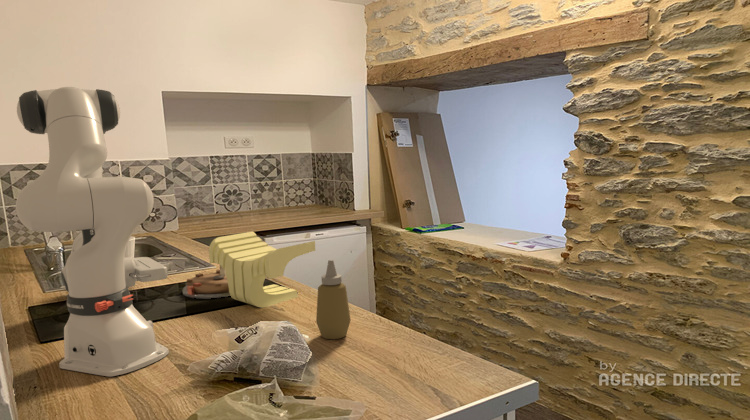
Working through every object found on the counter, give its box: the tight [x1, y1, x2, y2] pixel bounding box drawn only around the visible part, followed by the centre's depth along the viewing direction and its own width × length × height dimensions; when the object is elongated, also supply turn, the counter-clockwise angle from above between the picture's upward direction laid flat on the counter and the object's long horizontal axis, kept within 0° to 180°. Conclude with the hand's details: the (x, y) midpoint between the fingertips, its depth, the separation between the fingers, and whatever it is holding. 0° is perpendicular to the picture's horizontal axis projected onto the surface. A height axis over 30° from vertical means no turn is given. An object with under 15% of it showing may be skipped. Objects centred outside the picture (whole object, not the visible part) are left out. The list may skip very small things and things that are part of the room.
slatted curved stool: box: [208, 231, 316, 309], centre depth 149 cm, size 30×16×18 cm, turn 48°
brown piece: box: [186, 264, 229, 294], centre depth 162 cm, size 19×19×14 cm
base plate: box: [182, 285, 230, 300], centre depth 163 cm, size 22×22×3 cm
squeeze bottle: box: [315, 259, 352, 340], centre depth 119 cm, size 8×8×18 cm
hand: (173, 264), depth 160 cm, fingers closed
